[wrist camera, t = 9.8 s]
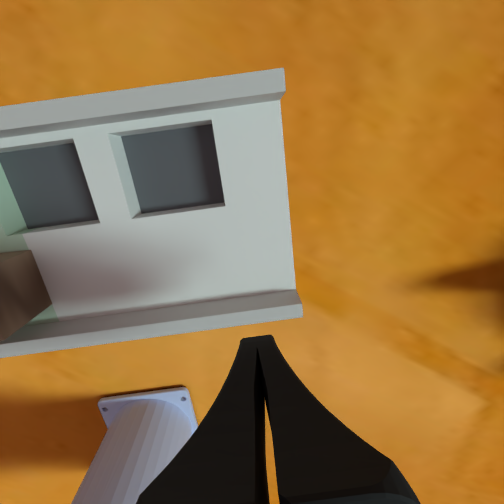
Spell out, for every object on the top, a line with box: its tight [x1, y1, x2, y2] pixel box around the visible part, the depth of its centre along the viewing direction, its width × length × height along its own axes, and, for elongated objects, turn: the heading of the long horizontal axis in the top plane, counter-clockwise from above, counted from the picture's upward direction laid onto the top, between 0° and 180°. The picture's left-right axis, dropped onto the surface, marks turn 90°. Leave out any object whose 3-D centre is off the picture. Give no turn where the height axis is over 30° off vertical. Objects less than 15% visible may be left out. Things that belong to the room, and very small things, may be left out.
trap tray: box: [0, 68, 303, 358], centre depth 17 cm, size 14×22×4 cm, turn 97°
